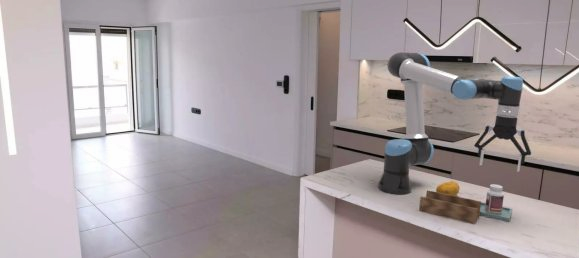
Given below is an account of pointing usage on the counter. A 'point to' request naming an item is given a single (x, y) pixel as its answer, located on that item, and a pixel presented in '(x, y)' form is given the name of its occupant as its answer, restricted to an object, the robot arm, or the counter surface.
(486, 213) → the tray
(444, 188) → the potato
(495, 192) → the pill bottle
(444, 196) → the wooden shelf
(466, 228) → the counter surface
